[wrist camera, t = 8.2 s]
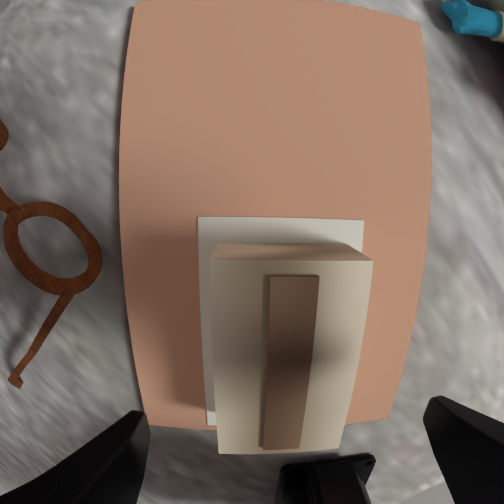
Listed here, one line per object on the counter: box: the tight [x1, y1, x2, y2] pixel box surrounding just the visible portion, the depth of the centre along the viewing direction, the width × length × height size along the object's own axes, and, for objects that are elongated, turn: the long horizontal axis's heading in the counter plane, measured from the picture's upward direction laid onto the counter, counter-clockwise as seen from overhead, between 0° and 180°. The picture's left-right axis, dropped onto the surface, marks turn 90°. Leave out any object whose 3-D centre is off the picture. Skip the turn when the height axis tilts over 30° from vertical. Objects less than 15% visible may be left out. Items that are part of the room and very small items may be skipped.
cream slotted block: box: [209, 242, 373, 454], centre depth 13 cm, size 6×9×3 cm, turn 179°
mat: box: [119, 0, 431, 430], centre depth 13 cm, size 22×14×1 cm, turn 179°
